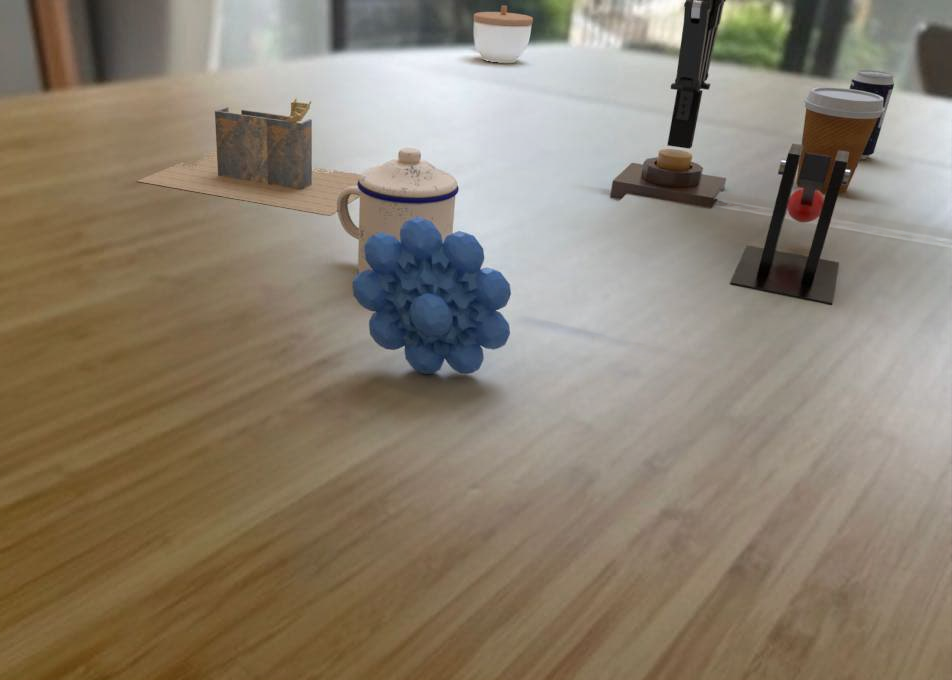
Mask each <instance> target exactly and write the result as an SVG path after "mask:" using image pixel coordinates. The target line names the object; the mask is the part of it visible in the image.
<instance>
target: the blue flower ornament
mask: <svg viewBox="0 0 952 680" xmlns="http://www.w3.org/2000/svg"><path fill="white" fill-rule="evenodd" d="M400 241H401V243H400V242H399V241H398V240H397V238H396V237H394V236H392V235H389V234H386V233H382V232H380V233H378V234H376V235H374V236H371V237H369V238H368V240H367V242H366V244H365V247H364V252H365V260H366V261H367V263H368V264H369V265H370V267H371V268H372V269H373V270H370V269H368V270H365V271H363V272H360V273H359V272H358V273H357V274H355V277H354V278H353V281H352V294H353V297H354V298H355V300H356V301H357V303H358V304H359V305H360V306H361V307H362V308H363V309H365V310H368V311H371V312H373V313H372V314H371V316H370V319H369V320H368V330H369V335H370V337H371V338H372V340H373V341H374V342H375V343H376V344H377V345H378V346H379V347H381V348H383V349H384V350H389V351H396V350H399V349H401V348H403V347H404V349H403V351H404V357H405V360H406V361H407V363H408V364H409V366H410V367H411V368H412V369H413V370H414V371H417V372H418V373H420V374H424V375H425V374H426V375H430V374H435V373H437V372H438V371H440V370H441V369H442V366H443V365H444V363H445V361H446V363H447V365H449V367H450V368H451V369H452V370H454V371H456V372H457V373H459V374H465V375H469V374H473V373H475V372H477V371H479V370H480V368H481V367H482V364H483V362H484V359H485V358H484V349H487V350H492V351H493V350H498V349H500V348H502V347H504V346H506V344H507V342H508V340H509V338H510V335H511V330H510V323H509V322H508V321H507V320H506V318H505V317H504V315H503V314H502V313H501V312H500V311H498V310H501V309H503V308H506V307H507V305H508V302H509V301H510V299H511V295H512V290H511V284H510V283H509V281H508V280H507V278H506V277H505V276H504V274H503V273H502V272H501V271H499V270H496V269H495V268H490V267H484V268H482V266H483V264H484V263H485V262H484V261H485V251H484V248H483V246H482V245H481V243H480V241H478V240H477V238H476V236H475V235H473V234H471V233H468V232H465V231H461V230H458V231H455V232H453V234H451V235H448V236H446V238H445V240H444V242H443V243H442V235H441V233H440V232H439V231H438V229H437V228H436V227H435V225H434V224H433V223H432V222H431V221H429V220H426V219H423V218H420V217H415V218H413V219H411V220H408V221H406V222H404V224H403V226H402V228H401V230H400ZM483 348H484V349H483Z"/></svg>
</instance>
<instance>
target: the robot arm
mask: <svg viewBox="0 0 952 680" xmlns="http://www.w3.org/2000/svg"><path fill="white" fill-rule="evenodd" d="M726 1H727V0H685V2H684V3H683V8H684V12H683V25H682V32H681V39H680V46H679V54H678V61H677V69H676V77H675V79H674V82H672V83H671V84H670V90H674V91H675V90H676V93H675V99H674V104H673V111H672V116H671V122H670V127H669V133H668V138H667V146H669V147H674V148H675V147H676V148H682V149H691V148H692V147H693V145H694V144H693V143H694V138H695V132H696V127H697V122H698V117H699V113H700V112H699V111H700V106H701V101H702V97H703V90H706V91H707V90H709V91H710V88H711V83H707V82H706V81H707V80H708V78H709V71H710V66H711V61H712V56H713V52H714V48H715V44H716V39H717V35H718V30H719V26H720V24H721V20H722V14H723V9H724V6H725V2H726Z"/></svg>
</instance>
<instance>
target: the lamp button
mask: <svg viewBox="0 0 952 680" xmlns="http://www.w3.org/2000/svg"><path fill="white" fill-rule="evenodd" d="M657 157H658V158H657V164H656V165H657V166H660V167H663V168H667V169H673V170H688V169H690V165H691V162H692V160H693V154H692V153H691V152H688V151H686V150H681V149H675V148H664V149H659V150H658V154H657Z"/></svg>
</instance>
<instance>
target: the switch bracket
mask: <svg viewBox="0 0 952 680" xmlns="http://www.w3.org/2000/svg"><path fill="white" fill-rule="evenodd" d="M802 150H803V145H801V144H798V143H791V145H790V148H789V150H788V153H787V156H786V159H784V158H782V159H781V160H780V162H779V165H778V166H779V167H778V171H777V175H778V176H779V175H780V176H781V180H780V183H779V188H778V191H777V195H776V198H775V203H774V207H773V212H772V214H771V218H770V223H769V226H768V230H767V234H766V238H765V242H764V246H763V247H758V246H753V245H748V244H746V247H745V248H744V251H743V253H742V256H741V257H740V260H739V262H738V264H737V266H736V269H735V270H734V273H733V275H732V277H731V279H730V282H729V285H730V286H735V287H741V288H744V289H745V288H746V289H751V290H755V291H760V292H764V293H768V294H769V293H770V294H774V295H779V296H785V297H790V298H795V299H799V300H804V301H808V302H814V303H820V304H823V305H829V306H833V303H834V297H835V291H836V284H837V279H838V274H839V273H838V272H839V267H840V262H839V261H834V260H828V259H824V258H821V255H822V253H823V249H824V245H825V243H826V239H827V235H828V232H829V229H830V224H831V222H832V218H833V214H834V211H835V207H836V205H837V204H836V203H837V200H838V197H839V194H840V193H839V190H840V187H841V184H842V185H847V183H848V179H849V176H850V172H851V170H850V169H846V166H847V162H848V157H849V152H847V151H840V150H838V152H837V155H836V159H835V163H834V166H833V170H832V173H831V177H830V180H829V184H828V187H827V191H826V193H825V195H824V202H823V205H822V209H821V212H820V216H819V217H818V218H817V219H818V220H817V223H816V227H815V230H814V234H813V238H812V241H811V243H810V248H809V252H808V255H807V256H806V255H802V254H796V253H792V252H791V253H790V252H785V251H781V250H777V248H778V245H779V240H780V237H781V233H782V229H783V225H784V222H785V218H786V214H787V212H788V210H787V207H788V203H789V199H790V196H791V194H792V193H793V187H794V183H795V180H796V177H797V174H798V167H799V161H800V157H801V153H802Z"/></svg>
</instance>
